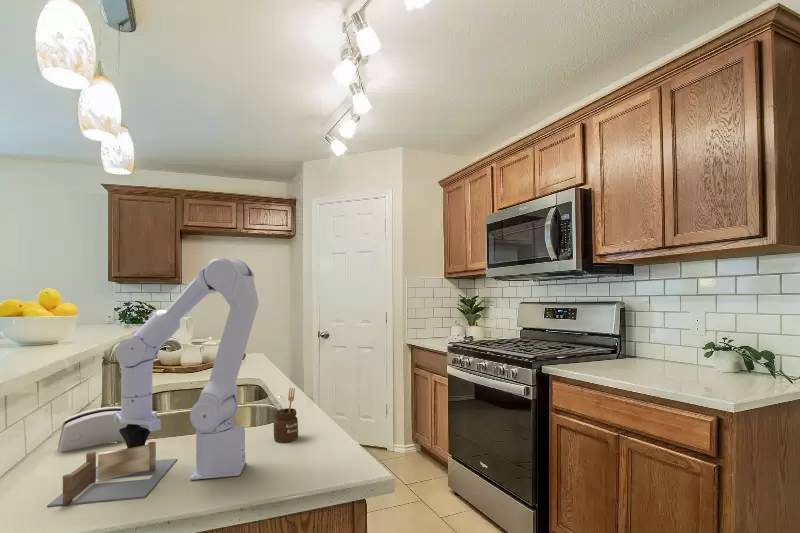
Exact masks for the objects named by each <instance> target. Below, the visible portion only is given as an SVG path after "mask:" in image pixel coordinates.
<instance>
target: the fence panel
mask: <svg viewBox="0 0 800 533" xmlns="http://www.w3.org/2000/svg"><path fill="white" fill-rule="evenodd" d="M156 448H157V442H156V441H150V442H148V443H147V444H145V445H144V446H138V447H132V448H127V447H126V448H122V449H116V450H110V451H104V452H99V453H98V454H97V456H98V457H97V466H98V479H104V478H109V477H114V476H119V475H124V474H129V473H134V472H139V471H144V470H155V469H156V460H157V449H156Z"/></svg>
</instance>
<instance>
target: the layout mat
mask: <svg viewBox="0 0 800 533" xmlns="http://www.w3.org/2000/svg"><path fill="white" fill-rule="evenodd" d="M177 461H178V458H170V459H168V458H167V459H158V460H157V459H156V469H155V470H144V471H139V472H134V473H129V474H124V475H119V476H114V477H109V478H104V479H98V465H96V482H94V483H92V484H89V485H88V486H87V487H86V488H85V489H84V490H82V491H81V492H80V493H79V494H78V495H76V496H75V497H74V498H73V499H72V502H71V503H70V505H69V506H71V505H81V504H92V503H103V502H105V503H106V502H111V501H112V502H113V501H125V500H136V499H145V498H147V496H148V495H149V494H150V492H151V491H152V490H154V489H155V487H156V486H157V484H158V483H159V482H160V481H161V480H162V478H163V477H165V475H166V474H167V473H168V471H169V470H170V469H171V468H172V467H173V466H174V464H175V463H176V462H177ZM61 506H63V492H62V493H61V494H60V495H59V496H57V497H56V498H55V499H53V500H52V501H51V502H50V503H48V504H47V508H51V507H61Z"/></svg>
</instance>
